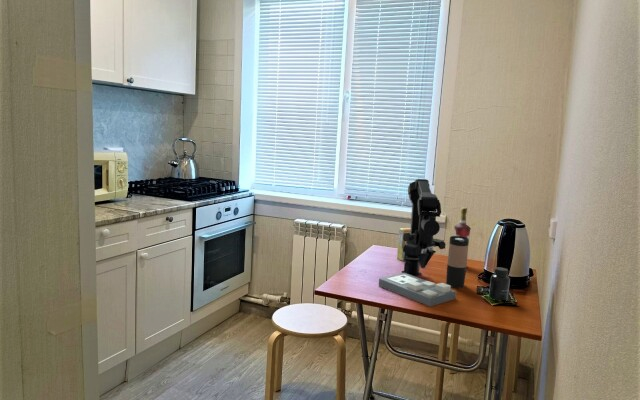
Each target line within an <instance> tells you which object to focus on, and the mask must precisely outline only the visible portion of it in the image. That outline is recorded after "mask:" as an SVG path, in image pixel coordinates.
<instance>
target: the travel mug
mask: <svg viewBox="0 0 640 400" xmlns="http://www.w3.org/2000/svg"><path fill="white" fill-rule="evenodd" d="M469 242H470V238H469V239H468V238H466V237H461V236H454V235H451V236H450V237H449V243H448V251H447V252H448V254H447V263H446V278H445V279H446V280H445V281H446V282H445V284H447V285H450V286H451V288H455V289H461V288H463V287H464V286H465V281H466V280H465V279H466V274H467V273H466V272H467V266H468V265H467V264H468V252H469Z"/></svg>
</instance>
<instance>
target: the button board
mask: <svg viewBox="0 0 640 400" xmlns="http://www.w3.org/2000/svg"><path fill="white" fill-rule="evenodd" d="M412 281H416V282H419V283H421V282H425V281H427V280H426V279H423V278H419V277H417V276H416V275H415V276H412V275H409V274H406V273H402V272H401V273H397V274H393V275H389V276H384V277H380V278H378V287H381V288H383V289H385V290H389V291H390V292H393V293H395V294H398V295H400V296H403V297H405V298H407V299H410V300H413V301H415V302H418V303H420V304H422V303H423V305H425V306H428V307H433V306H437V305H440V304H443V303H446V302H449V301H453V300H456V296H457V291H456V290H454V289H452V288H451V289H450V292H446V293H442V292H439V291H437V290H435V286H436V285H435V286H433V287H430V288H429V287H426V286H423V285H422V290H419V291H413V290H410V289H408V288H407V283H408V282H412ZM425 290H431V291H434V292H436V293H437V295H436V296H433V297H428V296H426V295H423V294H421V293H422V291H425Z"/></svg>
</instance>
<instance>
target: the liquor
mask: <svg viewBox="0 0 640 400" xmlns="http://www.w3.org/2000/svg"><path fill="white" fill-rule="evenodd" d="M467 212H468V207H460V214H461V215H460V219H459V224H456V225H454V229H453V230H454V231H453V232H454V233H453V236H461V237H466V238H468V239H469V240H470V235H471V227H470V225H468V224H467Z"/></svg>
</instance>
